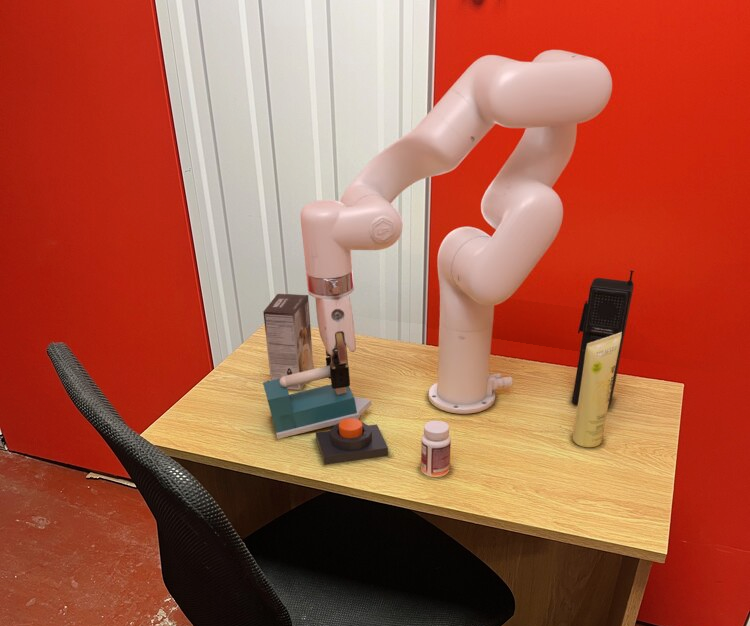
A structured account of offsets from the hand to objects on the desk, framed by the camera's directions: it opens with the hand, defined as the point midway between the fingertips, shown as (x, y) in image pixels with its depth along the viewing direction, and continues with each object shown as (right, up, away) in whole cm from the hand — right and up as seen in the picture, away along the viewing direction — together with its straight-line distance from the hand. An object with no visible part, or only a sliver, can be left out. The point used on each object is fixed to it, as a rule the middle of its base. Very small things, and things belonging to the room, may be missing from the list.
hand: (338, 381), depth 137 cm
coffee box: (-10, +3, +18) cm, 21 cm away
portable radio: (+47, -2, +9) cm, 48 cm away
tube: (+43, -11, -2) cm, 44 cm away
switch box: (+2, -12, -3) cm, 13 cm away
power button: (+2, -10, -5) cm, 11 cm away
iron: (-3, -6, +3) cm, 7 cm away
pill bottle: (+16, -16, -9) cm, 25 cm away
